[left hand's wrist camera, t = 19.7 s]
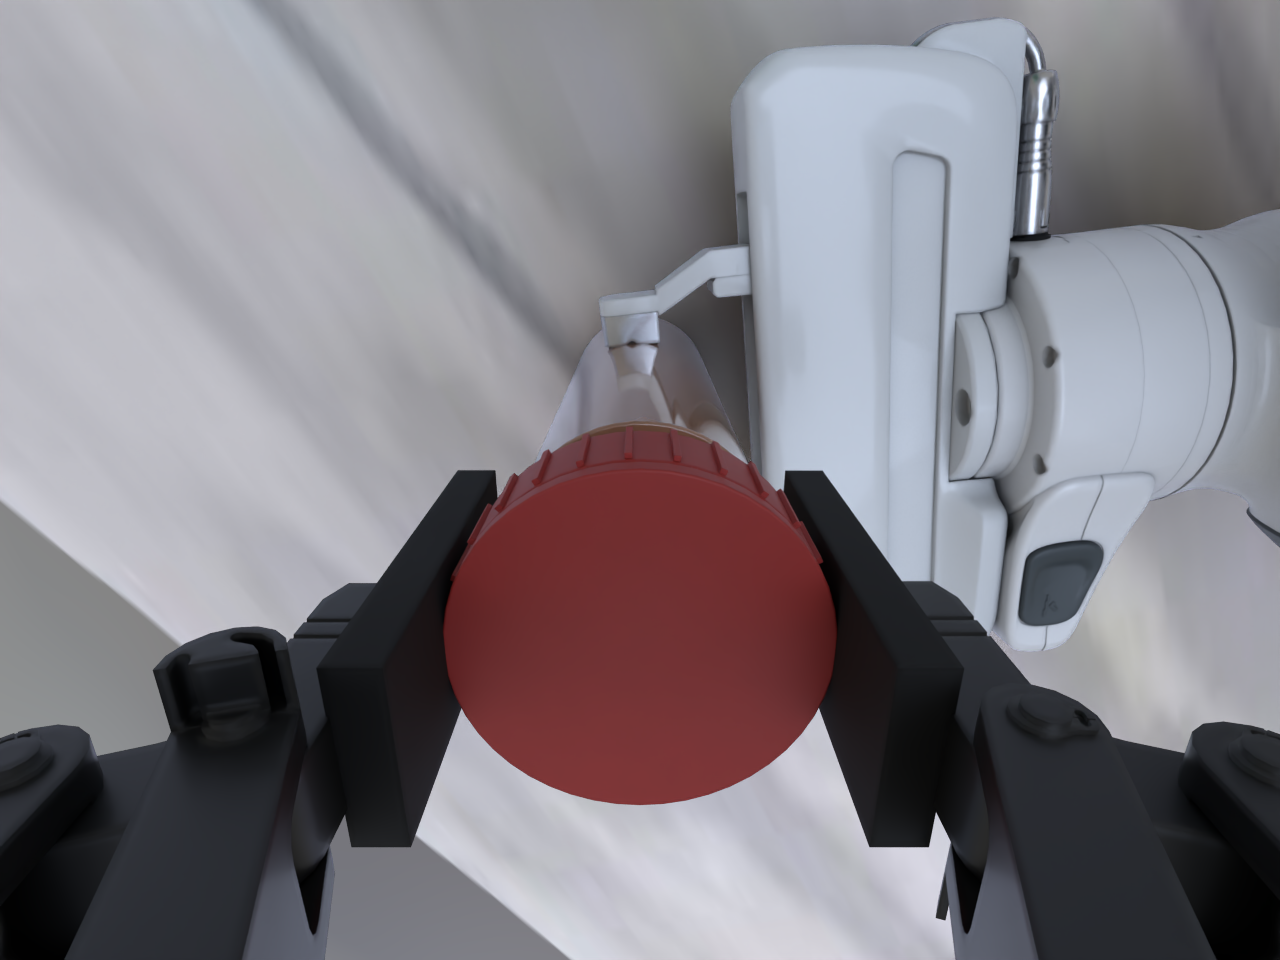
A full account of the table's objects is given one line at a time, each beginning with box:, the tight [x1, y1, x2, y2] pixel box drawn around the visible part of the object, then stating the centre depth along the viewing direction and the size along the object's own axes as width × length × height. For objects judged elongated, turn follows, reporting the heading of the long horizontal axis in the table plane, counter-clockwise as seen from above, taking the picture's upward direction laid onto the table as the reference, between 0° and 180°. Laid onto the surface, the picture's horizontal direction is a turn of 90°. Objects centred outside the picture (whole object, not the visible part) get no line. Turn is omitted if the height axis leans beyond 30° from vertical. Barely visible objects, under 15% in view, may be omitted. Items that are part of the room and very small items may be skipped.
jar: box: [535, 318, 748, 464], centre depth 21 cm, size 5×5×18 cm
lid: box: [443, 427, 837, 805], centre depth 11 cm, size 6×6×2 cm
